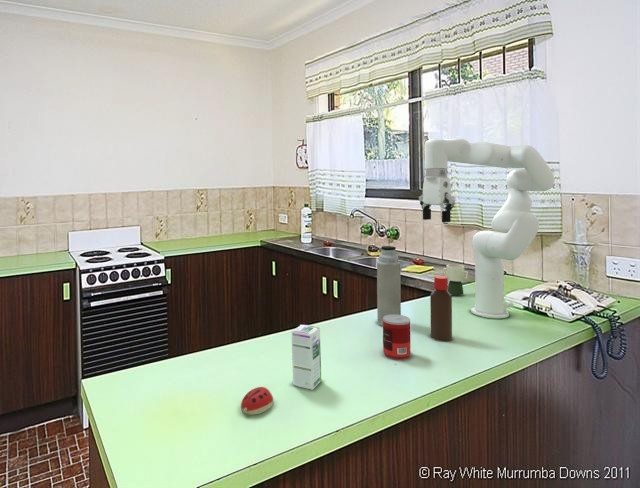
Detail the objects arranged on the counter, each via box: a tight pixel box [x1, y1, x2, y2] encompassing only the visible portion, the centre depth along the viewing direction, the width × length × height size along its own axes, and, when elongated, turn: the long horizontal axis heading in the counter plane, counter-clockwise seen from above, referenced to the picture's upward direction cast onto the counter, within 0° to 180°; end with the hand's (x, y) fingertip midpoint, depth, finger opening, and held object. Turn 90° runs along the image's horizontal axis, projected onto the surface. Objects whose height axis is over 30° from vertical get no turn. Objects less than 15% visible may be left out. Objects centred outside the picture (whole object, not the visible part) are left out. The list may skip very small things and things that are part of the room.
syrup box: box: [291, 324, 322, 391], centre depth 115 cm, size 6×6×14 cm
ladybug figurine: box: [240, 386, 274, 416], centre depth 104 cm, size 7×10×4 cm
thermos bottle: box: [376, 245, 402, 327], centre depth 159 cm, size 8×8×28 cm
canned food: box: [382, 314, 411, 360], centre depth 132 cm, size 8×8×11 cm
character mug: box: [442, 263, 469, 296], centre depth 193 cm, size 11×7×13 cm, turn 37°
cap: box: [433, 275, 449, 291], centre depth 144 cm, size 4×4×4 cm
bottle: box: [429, 288, 453, 342], centre depth 145 cm, size 6×6×20 cm
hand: (436, 220), depth 160 cm, fingers open, 9 cm apart
